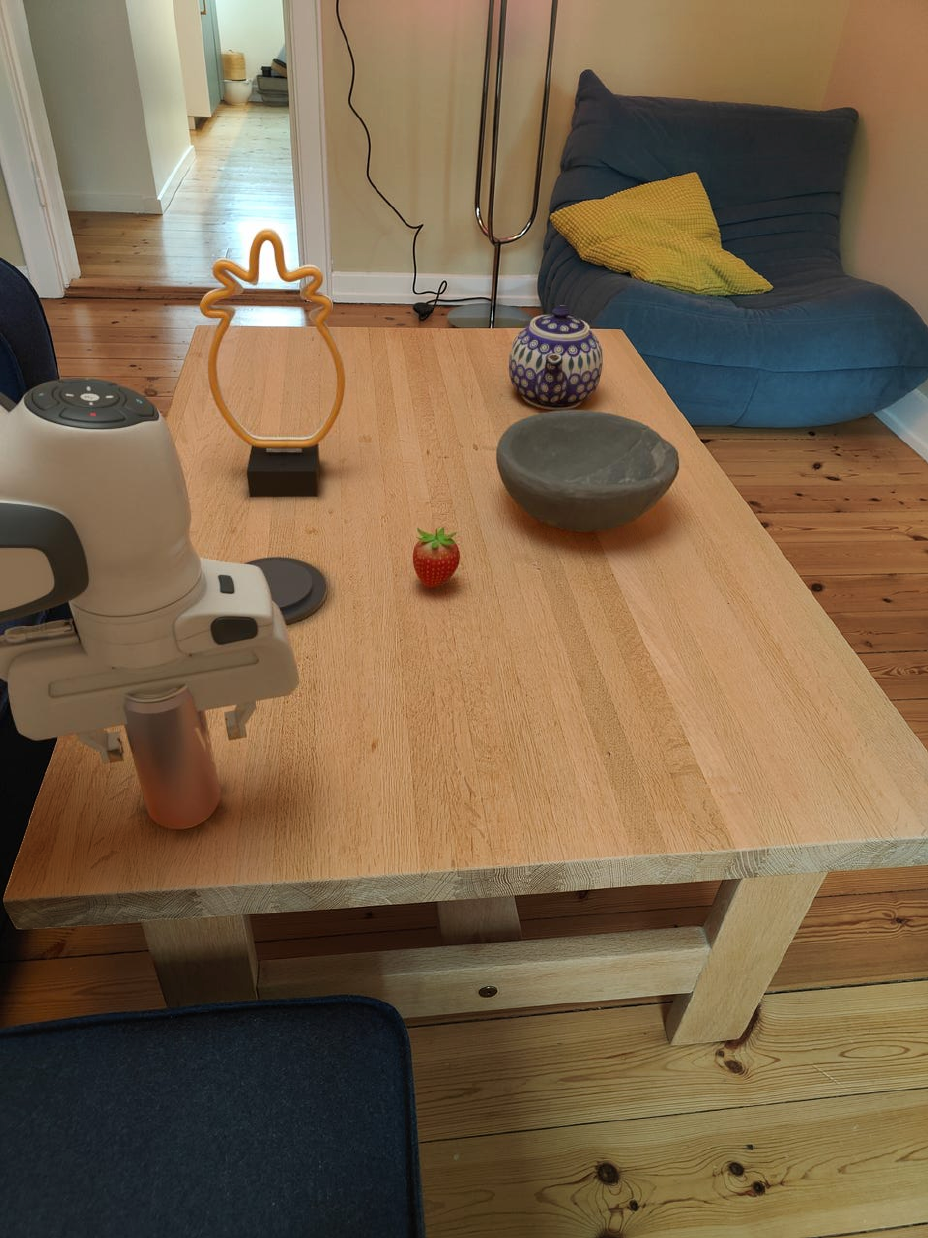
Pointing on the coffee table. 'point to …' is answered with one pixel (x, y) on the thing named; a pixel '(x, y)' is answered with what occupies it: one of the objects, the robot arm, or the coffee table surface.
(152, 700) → the beverage can
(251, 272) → the lamp
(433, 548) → the fruit
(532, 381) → the teapot
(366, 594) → the coffee table surface
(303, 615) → the saucer
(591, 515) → the bowl
